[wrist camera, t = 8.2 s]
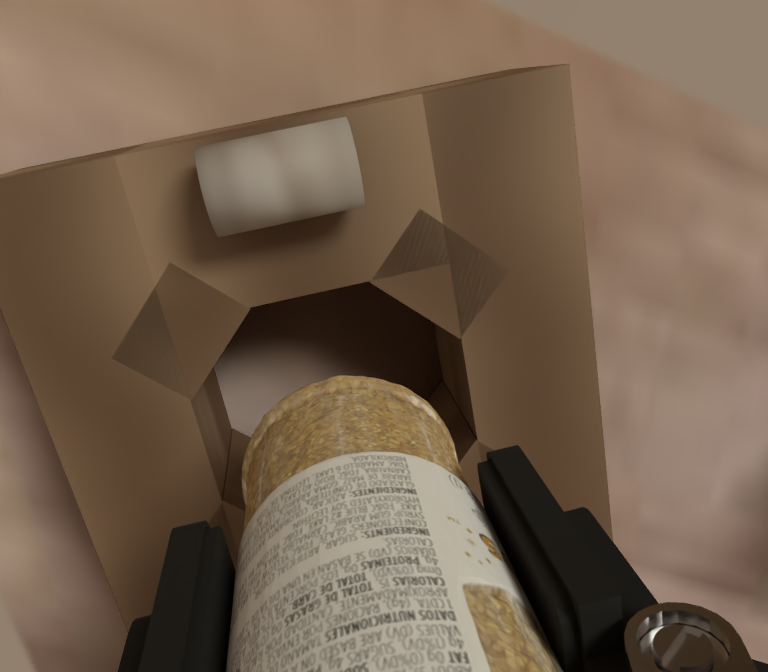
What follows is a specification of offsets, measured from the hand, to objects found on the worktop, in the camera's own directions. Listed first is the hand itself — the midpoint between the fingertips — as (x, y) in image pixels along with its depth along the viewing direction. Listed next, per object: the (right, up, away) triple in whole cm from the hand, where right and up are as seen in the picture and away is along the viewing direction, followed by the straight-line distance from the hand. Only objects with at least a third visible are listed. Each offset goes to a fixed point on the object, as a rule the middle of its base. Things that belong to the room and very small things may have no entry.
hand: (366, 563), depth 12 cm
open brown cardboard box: (-1, +3, +9) cm, 10 cm away
